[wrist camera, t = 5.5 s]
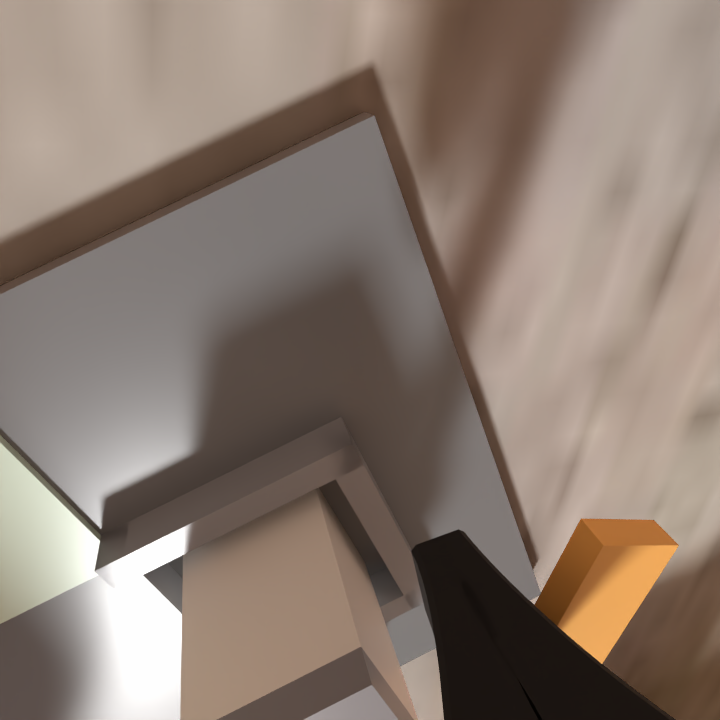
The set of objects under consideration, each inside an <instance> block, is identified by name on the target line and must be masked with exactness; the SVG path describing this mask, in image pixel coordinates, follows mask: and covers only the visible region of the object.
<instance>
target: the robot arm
mask: <svg viewBox="0 0 720 720" xmlns="http://www.w3.org/2000/svg"><path fill="white" fill-rule="evenodd" d="M411 553H412V557H413V561H414V565H415V570H416V574H417V578H418V582H419V587H420V591H421V595H422V599H423V603H424V608H425V611H426V614H427V617H428V619H429V622H430V625H431V628H432V631H433V635H434V638H435V644H436V650H437V656H438V664H439V672H440V681H441V692H442V702H443V712H444V720H675V719H674V718H673V717H671V716H670V715H668V714H667V713H666V712H664V711H663V710H661V709H660V708H659V707H657V706H656V705H655V704H653V703H652V702H651V701H649V700H648V699H647V698H645V697H644V696H643V695H641V694H640V693H639V692H637V691H636V690H634V689H633V688H632V687H631V686H629V685H628V684H627V683H625V682H624V681H623V680H622V679H620V678H619V677H618V676H616V675H615V674H614V673H613V672H611V671H610V670H609V669H608V668H606V667H605V666H604V665H603V664H601V663H600V662H599V661H598V660H597V659H595V658H594V657H593V656H592V655H591V654H589V653H588V652H587V651H586V650H585V649H583V648H582V647H581V646H580V645H579V644H577V643H576V642H575V641H574V640H573V639H571V638H570V637H569V636H568V635H567V634H566V633H565V632H563V631H562V630H561V629H560V628H559V627H558V626H557V625H555V624H554V623H553V622H552V621H551V620H550V619H549V618H548V617H547V616H546V615H545V614H544V613H542V612H541V611H540V610H539V609H538V608H537V607H536V606H535V605H534V604H533V603H532V602H530V601H529V600H528V599H527V598H526V597H525V596H524V595H523V594H522V593H521V592H520V591H519V590H518V589H517V588H516V587H515V586H514V585H513V584H512V583H511V582H510V581H509V580H508V579H507V578H506V577H505V576H504V575H503V574H502V573H501V572H500V571H499V570H498V569H497V568H496V567H495V566H494V565H493V564H492V563H491V562H490V561H489V560H488V558H487V557H486V556H485V555H484V554H483V553H482V552H481V551H480V550H479V549H478V547H477V546H476V545H475V544H474V543H473V542H472V540H471V539H470V538H469V537H468V536H467V534H466V533H465V532H464V531H461V530H459V529H458V530H455V531H452V532H450V533H447V534H444V535H441V536H439V537H436V538H433V539H430V540H428V541H425V542H422V543H419V544H417V545H415V547H414V548H413V549H412V551H411Z"/></svg>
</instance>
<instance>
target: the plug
mask: <svg viewBox="0 0 720 720" xmlns="http://www.w3.org/2000/svg"><path fill="white" fill-rule="evenodd" d="M180 720H418V718H417V715H416V712H415V709H414V706H413V703H412V700H411V698H410V695H409V692H408V689H407V686H406V683H405V680H404V677H403V674H402V671H401V668H400V665H399V662H398V659H397V656H396V653H395V650H394V647H393V644H392V641H391V639H390V636H389V633H388V630H387V627H386V624H385V621H384V618H383V615H382V612H381V609H380V606H379V603H378V600H377V597H376V594H375V591H374V588H373V585H372V583H371V580H370V577H369V574H368V571H367V568H366V565H365V562H364V560H363V559H362V557H361V555H360V554H359V552H358V551H357V549H356V547H355V546H354V544H353V543H352V541H351V539H350V538H349V536H348V534H347V533H346V531H345V530H344V528H343V526H342V525H341V523H340V521H339V520H338V518H337V517H336V515H335V513H334V512H333V510H332V509H331V507H330V505H329V504H328V502H327V500H326V499H325V497H324V496H323V494H322V492H321V491H320V489H319V488H317V489H315V490H313V491H311V492H309V493H307V494H305V495H303V496H301V497H299V498H297V499H295V500H293V501H291V502H289V503H287V504H285V505H283V506H281V507H279V508H277V509H275V510H273V511H270V512H268V513H266V514H264V515H262V516H260V517H258V518H256V519H254V520H252V521H250V522H248V523H246V524H244V525H242V526H240V527H238V528H236V529H234V530H232V531H230V532H228V533H226V534H224V535H222V536H220V537H218V538H216V539H214V540H212V541H210V542H208V543H206V544H204V545H202V546H200V547H198V548H196V549H194V550H192V551H190V552H188V553H186V554H184V555H183V585H182V644H181V703H180Z"/></svg>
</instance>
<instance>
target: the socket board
mask: <svg viewBox="0 0 720 720" xmlns="http://www.w3.org/2000/svg"><path fill="white" fill-rule="evenodd" d="M317 488H319V489H320V491H321V492H322V494H323V496H324V497H325V499H326V500H327V502H328V504H329V505H330V507H331V509H332V510H333V512H334V513H335V515H336V517H337V518H338V520H339V521H340V523H341V525H342V526H343V528H344V530H345V531H346V533H347V534H348V536H349V538H350V539H351V541H352V543H353V544H354V546H355V547H356V549H357V551H358V552H359V554H360V555H361V557H362V559H363V560H364V562H365V565H366V568H367V571H368V574H369V577H370V580H371V583H372V585H373V588H374V591H375V594H376V597H377V600H378V603H379V606H380V609H381V612H382V615H383V618H384V621H385V624H386V627H387V630H388V633H389V636H390V639H391V641H392V644H393V647H394V650H395V653H396V656H397V659H398V662H399V665H400V666H402V665H404V664H406V663H407V662H409V661H411V660H413V659H415V658H417V657H419V656H421V655H423V654H425V653H427V652H429V651H431V650H433V649H435V648H436V644H435V638H434V635H433V631H432V628H431V625H430V622H429V619H428V617H427V614H426V611H425V608H424V603H423V599H422V595H421V591H420V587H419V582H418V578H417V574H416V570H415V565H414V561H413V557H412V553H411V551H412V549H413V548H414V547H415V545H417V544H419V543H422V542H425V541H428V540H430V539H433V538H436V537H439V536H441V535H444V534H447V533H450V532H452V531H455V530H458V529H459V530H461V531H464V532H465V533H466V534H467V536H468V537H469V538H470V539H471V540H472V542H473V543H474V544H475V545H476V546H477V547H478V549H479V550H480V551H481V552H482V553H483V554H484V555H485V556H486V557H487V558H488V560H489V561H490V562H491V563H492V564H493V565H494V566H495V567H496V568H497V569H498V570H499V571H500V572H501V573H502V574H503V575H504V576H505V577H506V578H507V579H508V580H509V581H510V582H511V583H512V584H513V585H514V586H515V587H516V588H517V589H518V590H519V591H520V592H521V593H522V594H523V595H524V596H525V597H526V598H527V599H528V600H531V599H533V598H535V597H537V596H539V595H540V594H541V592H540V589H539V586H538V584H537V581H536V578H535V575H534V572H533V569H532V566H531V564H530V561H529V558H528V555H527V552H526V549H525V546H524V543H523V541H522V538H521V535H520V532H519V529H518V526H517V523H516V520H515V518H514V515H513V512H512V509H511V506H510V503H509V500H508V498H507V495H506V492H505V489H504V486H503V483H502V480H501V477H500V475H499V472H498V469H497V466H496V463H495V460H494V457H493V454H492V452H491V449H490V446H489V443H488V440H487V437H486V434H485V431H484V429H483V426H482V423H481V420H480V417H479V414H478V411H477V409H476V406H475V403H474V400H473V397H472V394H471V391H470V388H469V386H468V383H467V380H466V377H465V374H464V371H463V368H462V365H461V363H460V360H459V357H458V354H457V351H456V348H455V345H454V343H453V340H452V337H451V334H450V331H449V328H448V325H447V322H446V320H445V317H444V314H443V311H442V308H441V305H440V302H439V299H438V297H437V294H436V291H435V288H434V285H433V282H432V279H431V277H430V274H429V271H428V268H427V265H426V262H425V259H424V256H423V254H422V251H421V248H420V245H419V242H418V239H417V236H416V233H415V231H414V228H413V225H412V222H411V219H410V216H409V213H408V210H407V208H406V205H405V202H404V199H403V196H402V193H401V190H400V188H399V185H398V182H397V179H396V176H395V173H394V170H393V167H392V165H391V162H390V159H389V156H388V153H387V150H386V147H385V144H384V142H383V139H382V136H381V133H380V130H379V127H378V124H377V122H376V119H375V116H374V115H372V114H369V113H366V112H363V113H361V114H359V115H357V116H354V117H352V118H350V119H348V120H346V121H344V122H342V123H340V124H338V125H336V126H334V127H331V128H329V129H327V130H325V131H323V132H321V133H319V134H317V135H315V136H313V137H311V138H308V139H306V140H304V141H302V142H300V143H298V144H296V145H294V146H292V147H290V148H288V149H285V150H283V151H281V152H279V153H277V154H275V155H273V156H271V157H269V158H267V159H265V160H262V161H260V162H258V163H256V164H254V165H252V166H250V167H248V168H246V169H244V170H241V171H239V172H237V173H235V174H233V175H231V176H229V177H227V178H225V179H223V180H221V181H218V182H216V183H214V184H212V185H210V186H208V187H206V188H204V189H202V190H200V191H198V192H195V193H193V194H191V195H189V196H187V197H185V198H183V199H181V200H179V201H177V202H175V203H172V204H170V205H168V206H166V207H164V208H162V209H160V210H158V211H156V212H154V213H152V214H149V215H147V216H145V217H143V218H141V219H139V220H137V221H135V222H133V223H131V224H129V225H126V226H124V227H122V228H120V229H118V230H116V231H114V232H112V233H110V234H108V235H106V236H103V237H101V238H99V239H97V240H95V241H93V242H91V243H89V244H87V245H85V246H83V247H80V248H78V249H76V250H74V251H72V252H70V253H68V254H66V255H64V256H62V257H60V258H57V259H55V260H53V261H51V262H49V263H47V264H45V265H43V266H41V267H39V268H37V269H34V270H32V271H30V272H28V273H26V274H24V275H22V276H20V277H18V278H16V279H13V280H11V281H9V282H7V283H5V284H3V285H1V286H0V720H180V703H181V644H182V585H183V555H184V554H186V553H188V552H190V551H192V550H194V549H196V548H198V547H200V546H202V545H204V544H206V543H208V542H210V541H212V540H214V539H216V538H218V537H220V536H222V535H224V534H226V533H228V532H230V531H232V530H234V529H236V528H238V527H240V526H242V525H244V524H246V523H248V522H250V521H252V520H254V519H256V518H258V517H260V516H262V515H264V514H266V513H268V512H270V511H273V510H275V509H277V508H279V507H281V506H283V505H285V504H287V503H289V502H291V501H293V500H295V499H297V498H299V497H301V496H303V495H305V494H307V493H309V492H311V491H313V490H315V489H317Z"/></svg>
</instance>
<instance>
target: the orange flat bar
mask: <svg viewBox="0 0 720 720" xmlns="http://www.w3.org/2000/svg"><path fill="white" fill-rule="evenodd" d="M678 546H679V545H678V544H677V543H676V542H675V541H674V540H673V539H672V538H671V537H670V536H669V535H668V534H667V533H666V532H665V531H664V530H663V529H662V528H661V527H660V526H659V525H658V524H657V523H656V522H655V521H654V520H624V519H581V520H580V522H579V523H578V525H577V527H576V529H575V531H574V533H573V535H572V536H571V538H570V540H569V542H568V544H567V546H566V548H565V549H564V551H563V553H562V555H561V557H560V559H559V561H558V562H557V564H556V566H555V568H554V570H553V572H552V574H551V575H550V577H549V579H548V581H547V583H546V585H545V587H544V588H543V590H542V592H541V594H540V596H539V598H538V600H537V601H536V603H535V606H536V607H537V608H538V609H539V610H540V611H541V612H542V613H544V614H545V615H546V616H547V617H548V618H549V619H550V620H551V621H552V622H553V623H554V624H555V625H557V626H558V627H559V628H560V629H561V630H562V631H563V632H565V633H566V634H567V635H568V636H569V637H570V638H571V639H573V640H574V641H575V642H576V643H577V644H579V645H580V646H581V647H582V648H583V649H585V650H586V651H587V652H588V653H589V654H591V655H592V656H593V657H594V658H595V659H597V660H598V661H599V662H600V663H601V664H602V663H603V662H604V660H605V659H606V657H607V656H608V654H609V652H610V651H611V649H612V648H613V646H614V645H615V643H616V642H617V640H618V639H619V637H620V635H621V634H622V632H623V631H624V629H625V628H626V626H627V625H628V623H629V622H630V620H631V619H632V617H633V615H634V614H635V612H636V611H637V609H638V608H639V606H640V605H641V603H642V602H643V600H644V598H645V597H646V595H647V594H648V592H649V591H650V589H651V588H652V586H653V585H654V583H655V581H656V580H657V578H658V577H659V575H660V574H661V572H662V571H663V569H664V568H665V566H666V564H667V563H668V561H669V560H670V558H671V557H672V555H673V554H674V552H675V551H676V549H677V548H678Z"/></svg>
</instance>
